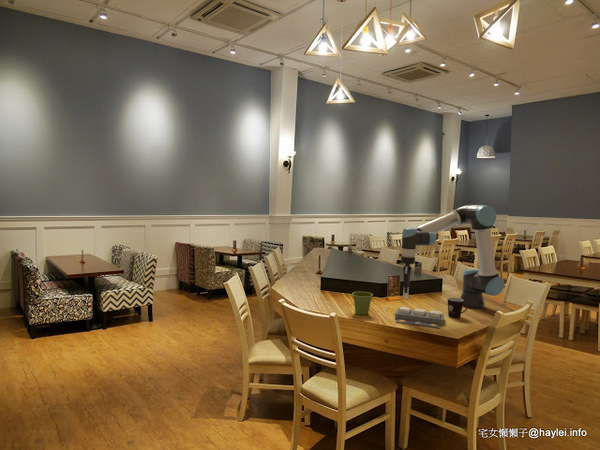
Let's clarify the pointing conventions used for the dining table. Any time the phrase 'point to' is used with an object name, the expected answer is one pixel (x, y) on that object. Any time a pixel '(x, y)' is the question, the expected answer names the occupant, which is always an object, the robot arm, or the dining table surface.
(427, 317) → the button board
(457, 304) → the coffee mug
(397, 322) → the pattern card
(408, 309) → the button far
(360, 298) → the plant pot
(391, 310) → the dining table surface
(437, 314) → the button near
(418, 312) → the button middle
